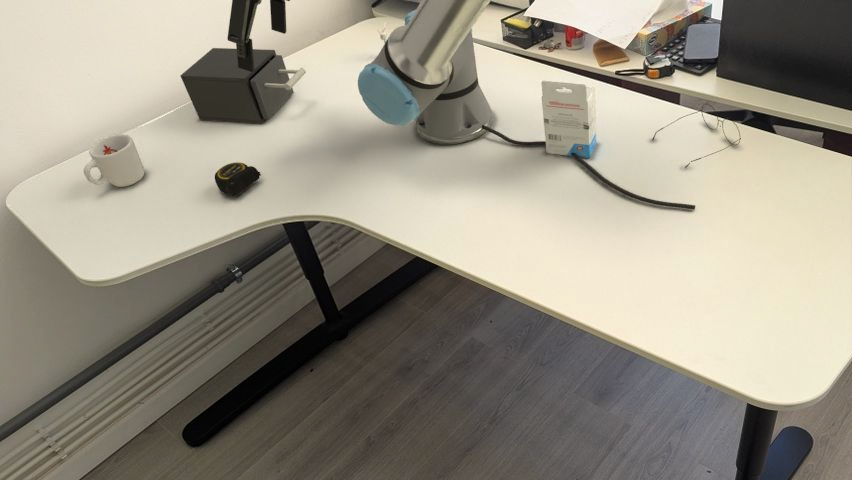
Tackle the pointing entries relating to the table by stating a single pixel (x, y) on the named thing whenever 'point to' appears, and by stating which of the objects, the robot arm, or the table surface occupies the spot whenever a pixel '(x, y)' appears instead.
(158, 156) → the table surface
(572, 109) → the ink box
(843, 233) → the table surface
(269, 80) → the drawer
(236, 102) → the cabinet
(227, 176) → the tape measure
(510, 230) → the table surface
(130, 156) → the cup
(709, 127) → the eyeglasses
